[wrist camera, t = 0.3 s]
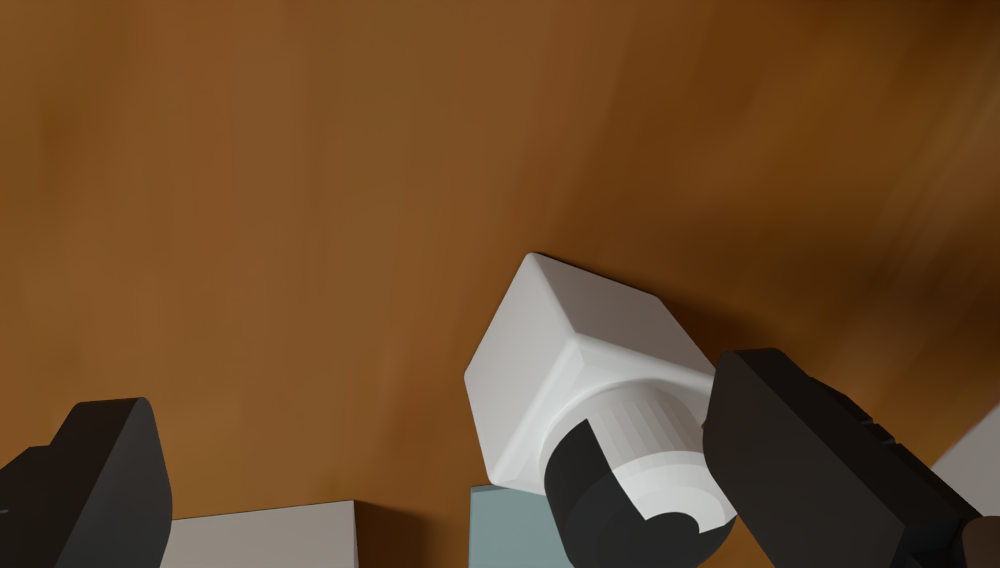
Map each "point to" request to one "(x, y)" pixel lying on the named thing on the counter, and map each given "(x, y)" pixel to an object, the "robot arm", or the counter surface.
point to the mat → (513, 530)
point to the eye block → (267, 539)
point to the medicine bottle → (600, 418)
